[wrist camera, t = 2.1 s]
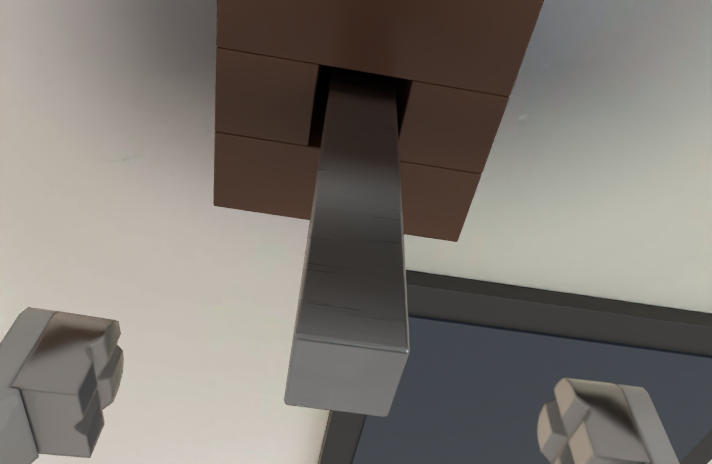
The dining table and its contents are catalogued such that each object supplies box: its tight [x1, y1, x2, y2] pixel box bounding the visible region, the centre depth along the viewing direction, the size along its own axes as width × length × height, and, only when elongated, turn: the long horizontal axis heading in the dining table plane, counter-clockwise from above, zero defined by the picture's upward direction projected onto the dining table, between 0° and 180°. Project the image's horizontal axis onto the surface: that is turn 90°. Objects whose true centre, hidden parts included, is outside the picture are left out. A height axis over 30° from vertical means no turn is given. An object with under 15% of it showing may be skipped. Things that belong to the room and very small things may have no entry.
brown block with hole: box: [214, 0, 544, 242], centre depth 20 cm, size 9×9×5 cm
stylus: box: [284, 67, 410, 417], centre depth 16 cm, size 2×2×15 cm
